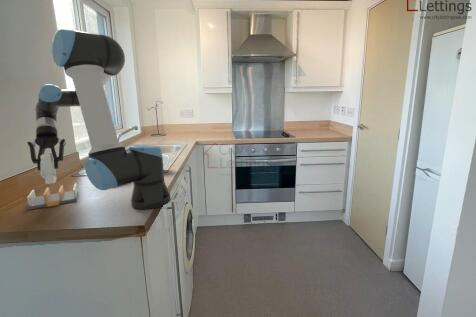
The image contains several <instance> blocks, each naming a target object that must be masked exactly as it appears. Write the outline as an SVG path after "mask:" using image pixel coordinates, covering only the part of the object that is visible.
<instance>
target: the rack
mask: <svg viewBox="0 0 476 317" xmlns="http://www.w3.org/2000/svg"><path fill="white" fill-rule="evenodd" d="M50 191H51V190H50V187H46V189H45V191H44V192H43V194H42V195H39V196H36V193H35V189H32V190H31V191H30V192H29V194H28V196H27V197H26V199H27V203H28V207H27V208H28V210H34V209H40V208H45V207H47V208H48V207H53V206H54V207H55V206H59V205H63V204H67V203H74V202H78V196H79V190H78V185H77V183H76V182H75V183H74V184H73V189H72V190H69V191H65V189H64V185H60V187H59V190H58V192H57V193H52V194H51V192H50Z"/></svg>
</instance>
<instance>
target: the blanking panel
mask: <svg viewBox="0 0 476 317" xmlns="http://www.w3.org/2000/svg"><path fill="white" fill-rule="evenodd" d="M40 158H41V163H42V168H43V172H44V177H45V178H44V180H45V182H44V183H45V184H46V185H50V184H55V183H56V182H57V179H58V178H57V176H56V177H53V174H52V160H54V159H53V155H52V152H49V153H44V154H42V155H41V156H40Z"/></svg>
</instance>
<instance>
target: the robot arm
mask: <svg viewBox="0 0 476 317" xmlns="http://www.w3.org/2000/svg"><path fill="white" fill-rule="evenodd" d="M51 51H52V52H51V54H52V58H53V61H54V63H55V65H56V66H58V67H60V68H63V70H64V72H65V75H66V76H67V77H69V78H71V80H72V83H73V86H74V89H61V88H60V86H57V85H54V84H51V83H46V84H43V85H41V87H40V89H39V93H38V100H37V102H36V105H35V119H36V120H35V139H34V141H27V145H28V147H29V152H30V153H29V154H30V158H31V162H32V164H33V165H36V166H37V170H38V171H40V177H41V178H42V179H45V177H44V172H43V168H42V163H41V158H40V156H41V155H42V154H45V151H46V150H47V149H50V151H51V153H52V158H53V160H52V174H53V177H56V178H57V173H56V172H57V171H56V169H59V162H63V161H64V155H65V154H64V153H65V146H66V144H67V143H66V139H64V138H62V139H60V137H58V121H57V119H58V117H57V116H58V115H57V114H58V111H59V108H67V107H69V108H70V107H79V108H80V111H81V113H82V118H83V121H84V125H85V129H86V132H87V135H88V139H89V143H90V146H91V149H90V150H89V152H87V153H88V154H87V155H88V158H87V159H85V161H84V170H85V174H86V176H87V178H88V180H89V182H90V183H91V184H92V185H93V187H95V188H96V189H98V190H99V191H107V190H111V189H116V188H119V187H122V186H125V185H128V184H132V183H133V188H132V193H131V198H130V206H131V207H132V208H134V209H137V210H150V209H151V210H152V209H156V208H160V207H162V206H165V205H167V204H168V203H170V202H171V200H172V199H171V198H172V197H171V193H170V191H169V189H168V186H167V184H166V182H165V174H164V160H163V161H162V158H163V152H162V149H161V148H160V147H159V146H157V145H145V144H141V145H140V144H137V145H136V144H135V145H131V146H129V147H128V151H127V150H126V146H125V145H123V144H122V143H120V142H119V139H118V135H117V130H116V128H115V123H114V121H113V120H114V119H113V116H112V113H111V108H110V106H109V101H108V99H107V95H106V92H105V87H104V86H105V85H106V84H107V83H108V82H109V81H110V79H111V78H112V77H113V76H117V75H118V74H119V73H120V72H121V71H122V69H123V68H124V66H125V62H126V57H125V52H124V50H123V47H122V46H121V45H120V43H118V41H117V40H115V39H114V38H112V37H111V36H108V35H105V34H99V33H93V32H87V31H86V32H85V31H83V30H75V29H73V28H72V29H69V28H68V29H67V28H59V29H58V30H56V31H55V33H54V35H53V38H52V44H51ZM57 144H59V147H58V151H59V152H58V156H57V151H56V149H55V146H57ZM36 145H37V147H39V149H38V155H37V154H36ZM161 152H162V153H161Z"/></svg>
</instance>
